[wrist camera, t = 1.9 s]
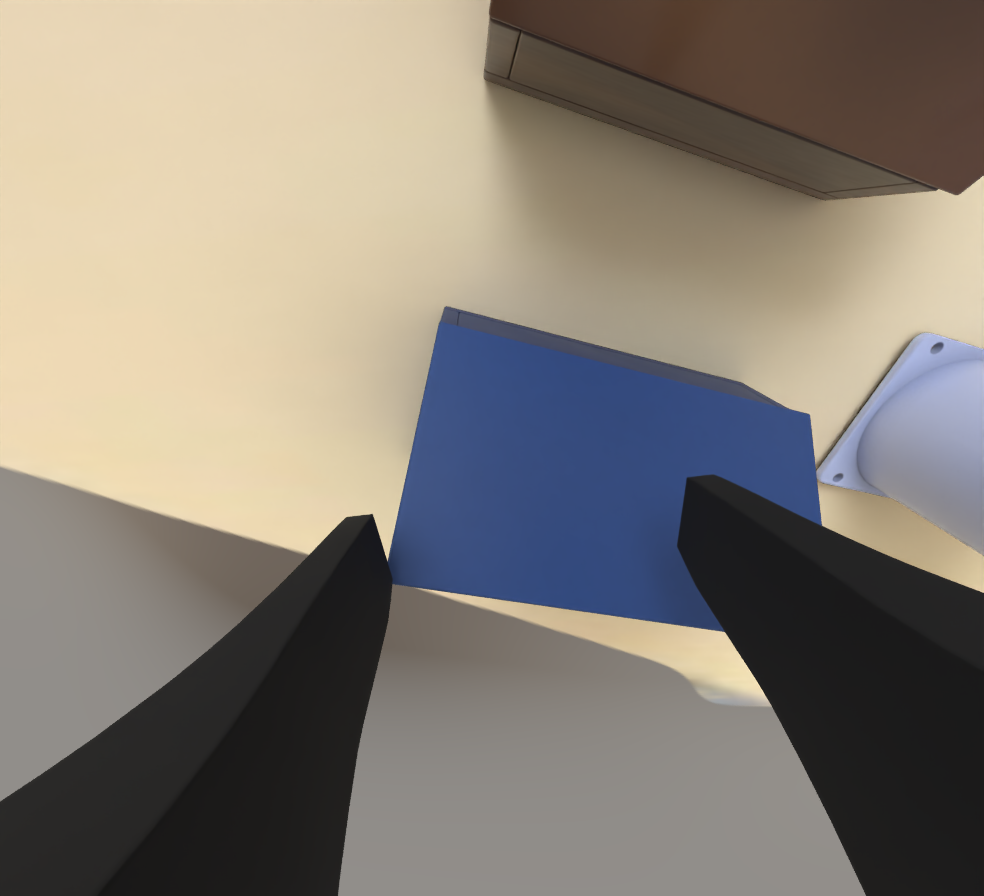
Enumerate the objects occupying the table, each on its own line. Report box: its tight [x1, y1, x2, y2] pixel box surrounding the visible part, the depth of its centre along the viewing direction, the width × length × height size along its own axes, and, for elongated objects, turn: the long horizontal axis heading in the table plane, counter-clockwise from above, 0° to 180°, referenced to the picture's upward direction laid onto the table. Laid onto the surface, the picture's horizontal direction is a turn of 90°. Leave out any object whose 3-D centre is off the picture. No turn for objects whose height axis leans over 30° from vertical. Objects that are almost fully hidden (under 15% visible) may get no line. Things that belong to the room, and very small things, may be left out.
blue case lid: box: [388, 322, 822, 632], centre depth 13 cm, size 8×14×1 cm
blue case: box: [440, 306, 788, 409], centre depth 18 cm, size 8×14×4 cm, turn 75°
